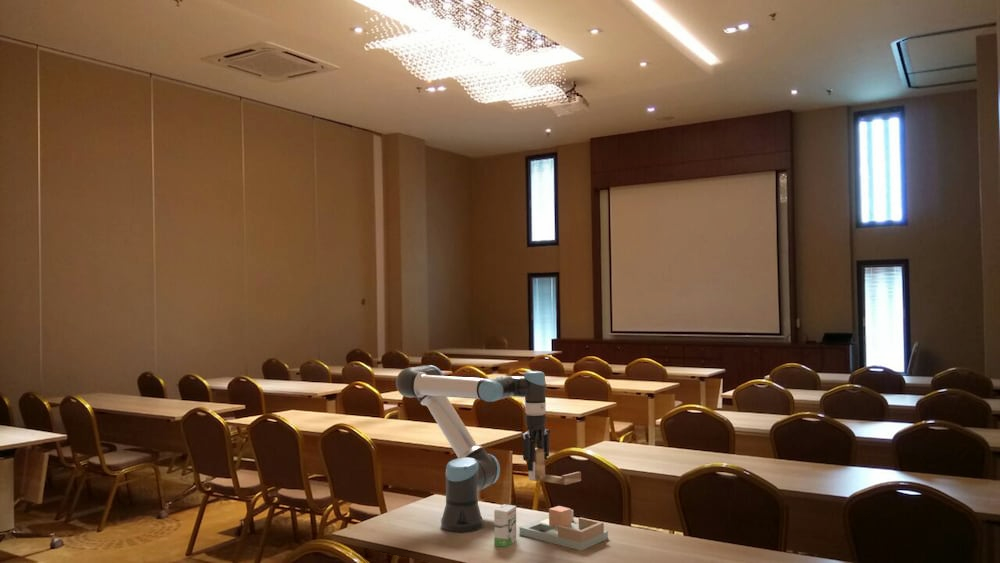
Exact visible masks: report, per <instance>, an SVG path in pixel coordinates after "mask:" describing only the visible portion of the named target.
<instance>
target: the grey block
mask: <svg viewBox="0 0 1000 563" xmlns="http://www.w3.org/2000/svg"><path fill="white" fill-rule="evenodd" d="M574 516H575V515H574V509H571V523H573V522H574Z"/></svg>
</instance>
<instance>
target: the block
mask: <svg viewBox="0 0 1000 563" xmlns="http://www.w3.org/2000/svg"><path fill="white" fill-rule="evenodd" d="M571 510H572V509H571V508H569V507H565V506H561V505H557V506H554V507H551V508H548V517H549V525H552V526H556V527H558V526H564V527H566V526H568V525H571V523H572V522H571Z"/></svg>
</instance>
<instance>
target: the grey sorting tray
mask: <svg viewBox="0 0 1000 563" xmlns="http://www.w3.org/2000/svg"><path fill="white" fill-rule="evenodd" d="M604 524H605V522H603V521H597V520H593V519H589V518H585V517H581V516H580V517H578V523H574V522H571V525H568V526H566V527H564V526H558V527H556V526H552V525H549V516H546V517H543V518H540V519H537V520H535V521H533V522H530V523H526V524H525V525H524V524H523V525H522V526H519V535H521V536H525V537H528V538H532V539H535V540H538V541H543V542H546V543H547V542H548V543H551V544H555V545H559V546H562V547H566V548H570V549H574V550H577V551H581V552H582V551H584V550H586V549H589V548H591V547H593V546H594V545H597V544H599V543H602V542H603V541H606V540H608V539H609V531H607V530H605V527H604V526H605V525H604Z"/></svg>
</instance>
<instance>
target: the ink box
mask: <svg viewBox="0 0 1000 563" xmlns="http://www.w3.org/2000/svg"><path fill="white" fill-rule="evenodd" d="M493 513H494V514H493V517H494V519H493V523H494V524H493V526H494V528H493V529H494V532H493V533H494V534H493V535H494V536H493V537H494V542H493V544H494V545H493V546H495V547H503V548H504V547H505V548H508V547H510V546H511V545H512V544H513V543H514V542H516V541H517V505H512V504H505V503H504V504H502V505H499V506H498V507H496V508H495V509H494V511H493Z"/></svg>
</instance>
